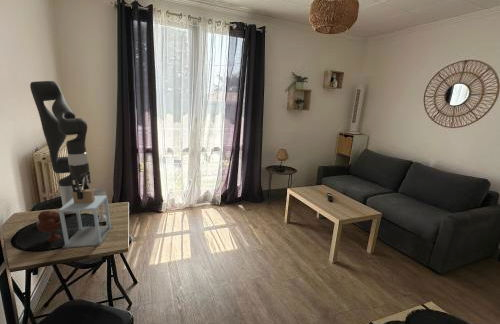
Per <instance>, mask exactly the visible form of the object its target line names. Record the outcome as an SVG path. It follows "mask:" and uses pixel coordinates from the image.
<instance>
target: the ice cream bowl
mask: <svg viewBox="0 0 500 324" xmlns="http://www.w3.org/2000/svg"><path fill="white" fill-rule="evenodd" d="M37 219H38V221H37V222H35V225H36V228H37V229H38V231H40V232H42V233H48V234H49V233H50V236H48V237H47V238H46V242H49V243H53V242H56V241H58V240H60V239H61V238H62V237H61V235H60V234H56V232H57V231H59V230H60V228H61V229H62V225H61V220H60V214H59V211H51V210H43V211H41V212H40V213H39V214H38V215H37Z"/></svg>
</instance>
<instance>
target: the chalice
mask: <svg viewBox="0 0 500 324" xmlns="http://www.w3.org/2000/svg"><path fill="white" fill-rule="evenodd" d="M92 189H93V191H94V196H105V195H107V193H106V191H107V188H105V187H96V188H92ZM103 206H105V202H103V203H102V204H101V205H100V206H99V213H100V216H99V215H98V221H99V223H104V222H107V217H106V214H104V211H103Z"/></svg>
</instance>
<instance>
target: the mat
mask: <svg viewBox="0 0 500 324" xmlns="http://www.w3.org/2000/svg"><path fill="white" fill-rule="evenodd" d="M82 228H83V229H82V230H79V228H78V230H76V231H75V232H74V233H73V234H72V236H71V237H70V238H68V239H69V245H65V244H64V245H62V247H61V248H62V249H68V248H70V249H71V248H84V247H86V248H87V247H94V246H95V247H98V246H99V247H100V246H101V245H102V244H103V242H104V241H105V239H106V238H107V237H108V235H109V233H110V232H111V230H112V229H113V228H114V225H113V224H111V228H108V225H99V228H100V235H101V243H98V242H97V235H96V228H95V225H94V226H82Z"/></svg>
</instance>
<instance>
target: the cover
mask: <svg viewBox="0 0 500 324" xmlns="http://www.w3.org/2000/svg"><path fill="white" fill-rule="evenodd" d="M93 189H94V188H89V189H84V190H83V189H82V192H83V199H78V198H77V192H72V194H73V199H71V200H70V201H69V202H68V203H66V204H65V205H64V206H63V205H62V206H61V207H60V208H59V209H58V213H59V214H60V220H61V225H62V227H61V231H62V235H63V241H64V245H69V239H70V238H69V234H68V233H69V232H68V228H67V224H66V217H65V213H64V212H68V211H76V213H75V214H76V220H77V226H78V227H77V228H78V229H79V230H82V229H83V228H82V227H83V223H82V217H81V212H85V211H88V212H89V211H92V212H93V213H92V214H93V221H94V226H95V228H96V235H97V242H98V243H101V235H100V228H99V226H100V222H99V221H98V218H99V215H98V208H100V205H101V204H102V203H103V202H105V203H104V207H105V209H104V210H105V216H106V217H107V221H106V224H107V225H106V226H108V228H111V225H112V223H111V216H110V208H109V207H110V206H109V200H108V195H107V194H106V195H105V196H94V191H93Z"/></svg>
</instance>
